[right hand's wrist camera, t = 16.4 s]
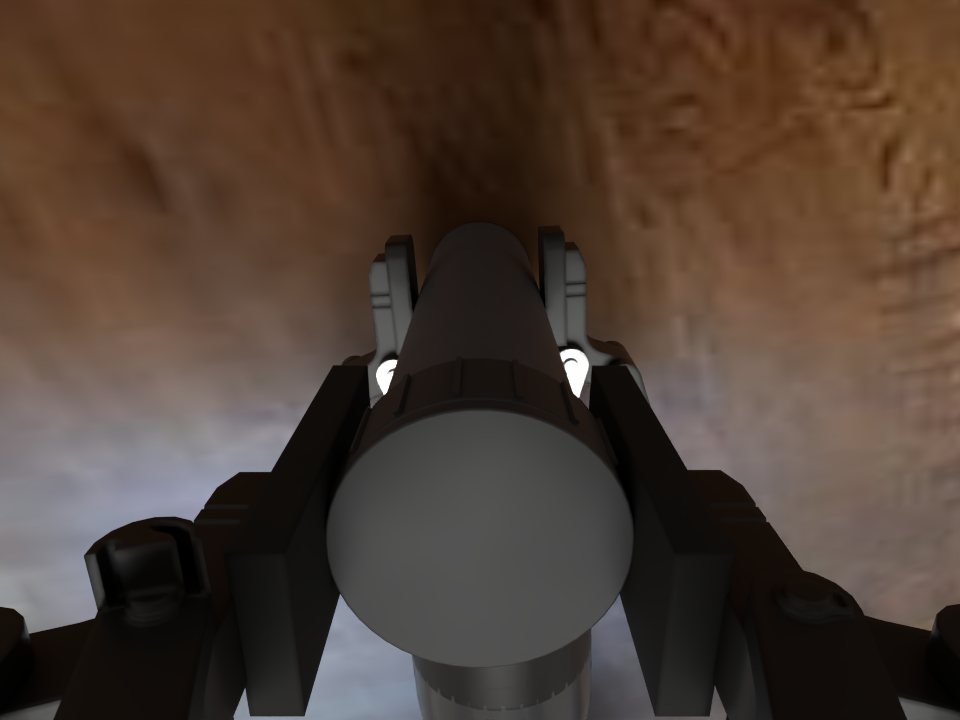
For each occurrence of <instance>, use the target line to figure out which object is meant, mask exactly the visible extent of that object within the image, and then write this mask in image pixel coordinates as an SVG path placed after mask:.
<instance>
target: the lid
mask: <svg viewBox="0 0 960 720" xmlns="http://www.w3.org/2000/svg"><path fill="white" fill-rule="evenodd" d="M618 464H619V463H618V461H617V458H616V456H615V453H614V451H613V448H612V446H611V443H610V441H609V438H608V436H607V433H606V431H605V428H604V426H603V423H602V421H601V419H600V418H597V419H595V418H594V416H593V414H592V413H591V412H590V410H589V409H588V408H587V407H586V405H585V404H584V403H583V402H582V400H580V399H579V398H578V397H577V396H576V395H575V394H574V393H573V392H572V391H571V390H570V388H569V385H568V383H567V382H565V381H562V383H560V382H559V381H557V380H556V379H554V378H552V377H550V376H549V375H547V374H545V373H543V372H541V371H539V370H536V369H534V368H531V367H528V366H526V365H523V364H519V361H518V360H516V359H512V362H510V361H506V360H498V359H489V358H475V359H462V356H460V357H456V360H455V361H449V362H445V363H441V364H438V365H434V366H431V367H429V368H426V369H424V370H421V371H419V372H416V373H415V374H413V375H411V376H410V374H409V373H407V374H406V375H404V376H403V380H402V381H401V382H399V383H398V384H397V385H395V386H394V387H393V388H392V389H390V390H389V391H388V392H387V393H386V394H385V395H384V396H383V397H382V398H381V399H380V400H379V401H378V402H377V403H376V404H375V405H374V406H373V408H372V409H371V408H369V407H367V409H366V410H365V412H364V414H363V417H362V420H361V422H360V425H359V427H358V430H357V432H356V435H355V438H354V440H353V443H352V445H351V448H350V450H349V451H347V453H346V456H345V458H344V461H343V463H342V466H341V468H340V471H339V473H338V476H337V478H336V481H335V484H334V486H333V489H332V491H331V494H330V502H331V503H330V506H329V510H328V515H327V520H326V527H325V538H326V549H327V559H328V564H329V567H330V571H331V575H332V577H333V579H334V582H335V584H336V586H337V588H338V591H339V592H340V594H341V596H342V597H343V599H344V600H345V602H346V604H347V605H348V606H349V608H350V609H351V610H352V611H353V612H354V614H355V615H356V616H357V617H358V618H359V619H360V620H361V621H362V622H363V623H364V624H365V625H366V626H367V627H368V628H369V629H370V630H371V631H373V632H374V633H375V634H377V635H378V636H380V637H381V638H382V639H384V640H385V641H387V642H388V643H390V644H392V645H394V646H395V647H397V648H399V649H401V650H403V651H405V652H408V653H410V654H412V655H415V656H417V657H420V658H423V659H426V660H430V661H433V662H436V663H441V664H447V665H452V666H460V667H471V668H485V667H499V666H508V665H514V664H518V663H523V662H527V661H531V660H534V659H537V658H540V657H543V656H546V655H548V654H550V653H552V652H554V651H557V650H559V649H561V648H563V647H564V646H566V645H568V644H569V643H571V642H573V641H575V640H576V639H578V638H579V637H580V636H582V635H583V634H584V633H586V632H587V631H588V630H589V629H591V628H592V627H593V626H594V625H595V624H596V623H597V622H598V621H599V620H600V619H601V618H602V617H603V616H604V615H605V614H606V612H607V611H608V610H609V608H610V607H611V606H612V605H613V603H614V602H615V600H616V598H617V597H618V595H619V593H620V592H621V590H622V588H623V586H624V584H625V581H626V579H627V576H628V574H629V571H630V567H631V562H632V555H633V544H634V519H633V515H632V511H631V507H630V503H629V500H628V498H627V495H626V493H625V490H624V487H623V485H622V482H621V479H620V477H619V474H618V472H617V469H616V467H615V466H616V465H618Z"/></svg>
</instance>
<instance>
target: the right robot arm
mask: <svg viewBox="0 0 960 720" xmlns="http://www.w3.org/2000/svg"><path fill="white" fill-rule="evenodd" d="M367 407H369V408H370V392H369V377H368V365H333V367H332V368H331V370H330V372H329V374H328V375H327V377H326V379H325V380H324V382H323V384H322V386H321V387H320V389H319V391H318V392H317V394H316V396H315V398H314V399H313V401H312V403H311V404H310V406H309V408H308V409H307V411H306V413H305V415H304V416H303V418H302V420H301V421H300V423H299V425H298V427H297V428H296V430H295V432H294V433H293V435H292V437H291V439H290V440H289V442H288V444H287V445H286V447H285V449H284V451H283V452H282V454H281V456H280V457H279V459H278V461H277V463H276V464H275V466H274V468H273V469H272V471H271V472H239V473H238V474H236V475H235V476H233V477H232V478H230V479H229V480H227V481H226V482H225V483H223V484H222V485H220V486H219V487H217V488H216V490H215V491H214V493H213V494H212V496H211V497H210V498H209V500H208V501H207V503H206V504H205V506H204V509H202V510H201V511H200V513H199V514H198V515H197V517H196V518H195V520H194V523H193V522H192V521H191V520H187V519H183V518H178V517H154V518H149V519H145V520H140V521H136V522H132V523H130V524H127V525H125V526H123V527H120V528H118V529H115V530H113V531H111V532H110V533H108V534H107V535H105V536H104V537H102V538H101V539H99V540H98V541H96V542H95V543H94V544H93V545H92V546H91V548H90V549H89V550H88V551H87V553H86V554H85V555H84V558H85V562H86V566H87V570H88V574H89V578H90V582H91V586H92V590H93V594H94V597H95V601H96V605H97V609H98V612H97V615H96V617H95V618H94V619H91V620H87V621H84V622H80V623H77V624H72V625H67V626H63V627H58V628H54V629H49V630H45V631H40V632H36V633H31V634H29V633H28V630H27V626H26V623H25V620H24V617H23V616H22V615H21V614H19V613H18V612H17V611H16V610H14V609H11V608H5V607H0V720H234V713H235V711H236V708H237V706H238V704H239V701H240V699H241V696H242V694H243V691H244V689H246V695H247V701H248V707H249V713H250V716H305V712H306V709H307V705H308V702H309V699H310V695H311V692H312V688H313V685H314V681H315V678H316V674H317V671H318V668H319V664H320V661H321V657H322V654H323V650H324V647H325V644H326V640H327V637H328V633H329V630H330V626H331V623H332V620H333V616H334V613H335V609H336V606H337V602H338V599H339V596H340V592H339V591H338V588H337V586H336V584H335V582H334V579H333V577H332V575H331V571H330V567H329V564H328V559H327V549H326V538H325V527H326V520H327V515H328V510H329V506H330V503H331V502H330V494H331V491H332V489H333V486H334V484H335V481H336V478H337V476H338V473H339V471H340V468H341V466H342V463H343V461H344V458H345V456H346V453H347V451H349V450H350V448H351V445H352V443H353V440H354V438H355V435H356V432H357V430H358V427H359V425H360V422H361V420H362V417H363V414H364V412H365V410H366V409H367ZM589 410H590V412H591V413H592V414H593V416H594V418H595V419H597V418H600V419H601V421H602V423H603V426H604V428H605V431H606V433H607V436H608V438H609V441H610V443H611V446H612V448H613V451H614V453H615V456H616V458H617V461H618V463H619V464H618V465H616V466H615V467H616V469H617V472H618V474H619V477H620V479H621V482H622V485H623V487H624V490H625V493H626V495H627V498H628V500H629V503H630V507H631V511H632V515H633V519H634V544H633V555H632V562H631V567H630V571H629V574H628V576H627V579H626V581H625V584H624V586H623V588H622V590H621V592H620V597H621V600H622V604H623V607H624V611H625V614H626V617H627V621H628V624H629V628H630V631H631V635H632V638H633V642H634V645H635V648H636V652H637V655H638V659H639V662H640V666H641V669H642V672H643V676H644V679H645V683H646V686H647V690H648V693H649V696H650V700H651V703H652V707H653V710H654V714H655V716H710V710H711V704H712V698H713V692H714V686H715V687H716V689H717V692H718V694H719V696H720V699H721V701H722V704H723V706H724V709H725V711H726V713H727V716H726V720H960V604H957V605H950V606H946V607H945V608H944V609H942V610H941V611H940V612H939V613H937V615H936V618H935V621H934V625H933V628H932V631H928V630H924V629H919V628H914V627H910V626H905V625H901V624H896V623H891V622H887V621H882V620H879V619H875V618H872V617H868V616H865V615H864V613H863V611H862V609H861V608H860V606H859V605H858V604H857V602H856V601H855V599H854V598H853V596H851V595H850V594H849V593H848V592H846V591H845V590H844V589H842V588H841V587H840V586H839V585H837V584H836V583H834V582H832V581H830V580H828V579H826V578H824V577H821V576H819V575H817V574H815V573H811V572H807V571H803V570H802V568H801V567H800V565H799V564H798V563H797V561H796V560H795V558H794V557H793V556H792V554H791V553H790V551H789V550H788V549H787V547H786V546H785V544H784V543H783V541H782V540H781V539H780V537H779V536H778V534H777V533H776V532H775V530H774V529H773V527H772V526H771V525H770V523H769V522H766V518H765V516H764V515H763V513H762V512H761V510H760V509H759V508H758V507H756V503H755V502H754V501H753V499H752V498H751V496H750V495H749V494H748V492H747V491H746V489H745V488H744V486H743V485H741V484H740V483H738V482H737V481H735V480H734V479H733V478H731V477H730V476H728V475H727V474H725V473H724V472H722V471H721V470H687V468H686V467H685V465H684V463H683V462H682V460H681V458H680V456H679V455H678V453H677V451H676V450H675V448H674V446H673V444H672V443H671V441H670V439H669V438H668V436H667V434H666V432H665V431H664V429H663V427H662V426H661V424H660V422H659V420H658V419H657V417H656V415H655V414H654V412H653V410H652V408H651V407H650V405H649V403H648V402H647V400H646V398H645V396H644V395H643V393H642V391H641V390H640V388H639V386H638V385H637V383H636V381H635V379H634V378H633V376H632V374H631V373H630V371H629V369H628V367H627V366H626V365H592V371H591V386H590V402H589Z"/></svg>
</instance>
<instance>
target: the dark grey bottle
mask: <svg viewBox="0 0 960 720" xmlns="http://www.w3.org/2000/svg"><path fill="white" fill-rule="evenodd" d="M460 356H462V359H475V358H489V359H498V360H506V361H510V362H512V359H516V360H518V361H519V364H523V365H526V366H528V367H531V368H534V369H536V370H539V371H541V372H543V373H545V374H547V375H549V376H550V377H552V378H554V379H556V380H557V381H559V382H560V383H562V381H565V382H567V383H568V385H569V388H570V390H571V391H572V392H573V390H572V387H571V384H570V381H569V378H568V375H567V372H566V370H565V367H564V364H563V361H562V358H561V355H560V352H559V349H558V346H557V343H556V340H555V337H554V334H553V331H552V328H551V325H550V322H549V319H548V316H547V313H546V310H545V307H544V304H543V301H542V298H541V295H540V292H539V289H538V286H537V283H536V280H535V278H534V275H533V272H532V269H531V266H530V263H529V260H528V257H527V254H526V252H525V249H524V247H523V246H522V244H521V243H520V241H519V240H518V239H517V238H516V237H515V236H514V235H513V234H512V233H511V232H509V231H508V230H506V229H505V228H503V227H501V226H498V225H496V224H492V223H487V222H473V223H467V224H464V225H461V226H459V227H457V228H455V229H453V230H452V231H450V232H449V233H448V234H447V235H446V236H444V238H443V239H442V240H441V241H440V242H439V244H438V245H437V247H436V249H435V251H434V253H433V256H432V259H431V262H430V265H429V268H428V271H427V274H426V277H425V280H424V283H423V286H422V289H421V292H420V295H419V298H418V301H417V304H416V307H415V309H414V312H413V315H412V318H411V321H410V324H409V327H408V330H407V333H406V336H405V339H404V342H403V345H402V348H401V351H400V354H399V357H398V360H397V363H396V366H395V369H394V372H393V375H392V378H391V381H390V384H389V387H388V390H387V392H388V391H389V390H390V389H392V388H393V387H394V386H395V385H397V384H398V383H399V382H401V381H402V380H403V376H404V375H406V374H407V373H409V374H410V376H411V375H413V374H415V373H416V372H419V371H421V370H424V369H426V368H429V367H431V366H434V365H438V364H441V363H445V362H449V361H455V360H456V357H460Z"/></svg>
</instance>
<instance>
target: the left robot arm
mask: <svg viewBox="0 0 960 720" xmlns="http://www.w3.org/2000/svg"><path fill="white" fill-rule="evenodd" d="M538 256H539V287H540V295H541V298H542V301H543V304H544V307H545V310H546V313H547V316H548V319H549V322H550V325H551V328H552V331H553V334H554V337H555V340H556V343H557V346H558V349H559V352H560V355H561V358H562V361H563V364H564V367H565V370H566V372H567V375H568V378H569V381H570V384H571V387H572V390H573V393H574V394H575V395H576V396H577V397H578V398H579V396H580V393H581V389H582V386H583V383H584V382H585V383H589V384H591V371H592V365H626V366H627V367H628V369H629V371H630V373H631V374H632V376H633V378H634V379H635V381H636V383H637V385H638V386H639V388H640V390H641V391H642V393H643V395H644V396H645V398H646V400H647V402H648V403H649V400H648V397H647V393H646V390H645V387H644V383H643V380H642V377H641V374H640V372H639V370H638V369H637V367H636V365H635V364H634V362H633V360H632V359H631V357H630V356H629V354H628V352H627V351H626V349H625V348H624V346H623V345H622V344H620V343H618V342H615V341H608V342H602V341H599V340H595V339H593V338H590V337H589V336H588V335H586V264H585V262H584V260H583V257H582V255H581V253H580V250H579V249H578V247H577V246H576V245H575V243H574V242H565V238H564V233H563V231H562V229H561V228H560V227H559V225H558V226H542V227H538ZM368 280H369V288H370V294H371V304H372V311H373V319H374V327H375V335H376V343H377V349H376V350H374V351H373V352H371V353H368V354H366V355H364V356H351V357H348V358H347V359H345V360H344V362H343V363H342V365H368V377H369V392H370V400H371V399H373V398H376V397H378V396H381V395H383V394H384V395H385V394H386V393H387V390H388V387H389V384H390V381H391V378H392V375H393V372H394V369H395V366H396V363H397V360H398V357H399V354H400V351H401V348H402V345H403V342H404V339H405V336H406V333H407V330H408V327H409V324H410V321H411V318H412V315H413V312H414V309H415V307H416V304H417V301H418V298H419V295H418V285H417V275H416V265H415V255H414V245H413V239H412V235H395V236H390V238H389V239H388V240H387V242H386V244H385V254H378V256H377V257H376V258H375V260H374V261H373V262H372V266H371V270H370V273H369V277H368ZM649 405H650V403H649ZM412 659H413V667H414V674H415V681H416V690H417V696H418V702H419V706H420V710H421V714H422V717H423V720H587V715H588V710H589V703H590V696H591V629H589V630H588V631H587V632H586V633H584V634H583V635H582V636H580V637H579V638H578V639H576V640H575V641H573V642H571V643H569V644H568V645H566V646H564V647H563V648H561V649H559V650H557V651H554V652H552V653H550V654H548V655H546V656H543V657H540V658H537V659H534V660H531V661H527V662H523V663H518V664H514V665H508V666H499V667H485V668H471V667H460V666H452V665H447V664H441V663H436V662H433V661H430V660H426V659H423V658H420V657H417V656H415V655H412Z"/></svg>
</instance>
